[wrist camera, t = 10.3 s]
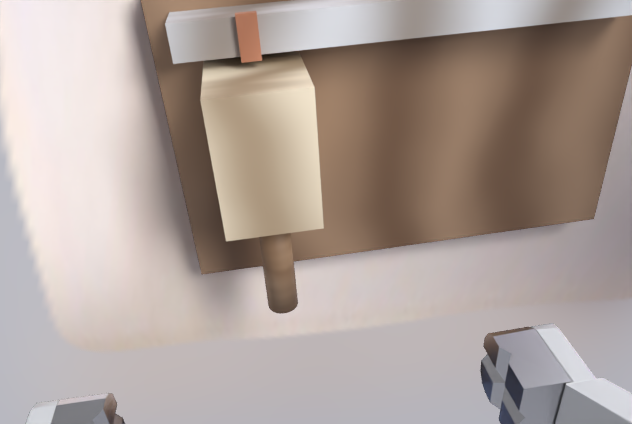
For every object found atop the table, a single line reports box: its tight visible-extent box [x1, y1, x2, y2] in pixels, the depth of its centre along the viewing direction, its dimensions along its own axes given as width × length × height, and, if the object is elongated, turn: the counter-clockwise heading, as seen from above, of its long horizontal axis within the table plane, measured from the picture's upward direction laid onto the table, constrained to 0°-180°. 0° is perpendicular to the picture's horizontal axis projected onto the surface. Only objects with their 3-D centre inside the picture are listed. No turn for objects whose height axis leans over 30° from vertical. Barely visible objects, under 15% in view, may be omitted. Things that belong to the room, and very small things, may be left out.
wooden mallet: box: [200, 51, 324, 313], centre depth 24 cm, size 4×11×5 cm, turn 3°
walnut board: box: [141, 0, 632, 274], centre depth 26 cm, size 22×14×4 cm, turn 94°
